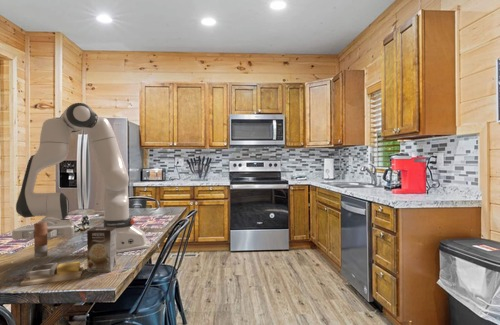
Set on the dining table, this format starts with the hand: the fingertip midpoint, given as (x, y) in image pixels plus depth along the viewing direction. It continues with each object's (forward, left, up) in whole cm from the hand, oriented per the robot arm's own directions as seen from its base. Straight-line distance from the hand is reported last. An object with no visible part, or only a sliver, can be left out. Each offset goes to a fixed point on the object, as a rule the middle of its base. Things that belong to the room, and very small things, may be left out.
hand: (40, 236), depth 116 cm
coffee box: (-20, -1, -16) cm, 26 cm away
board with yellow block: (-4, -1, -15) cm, 16 cm away
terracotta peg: (0, -1, -8) cm, 8 cm away
